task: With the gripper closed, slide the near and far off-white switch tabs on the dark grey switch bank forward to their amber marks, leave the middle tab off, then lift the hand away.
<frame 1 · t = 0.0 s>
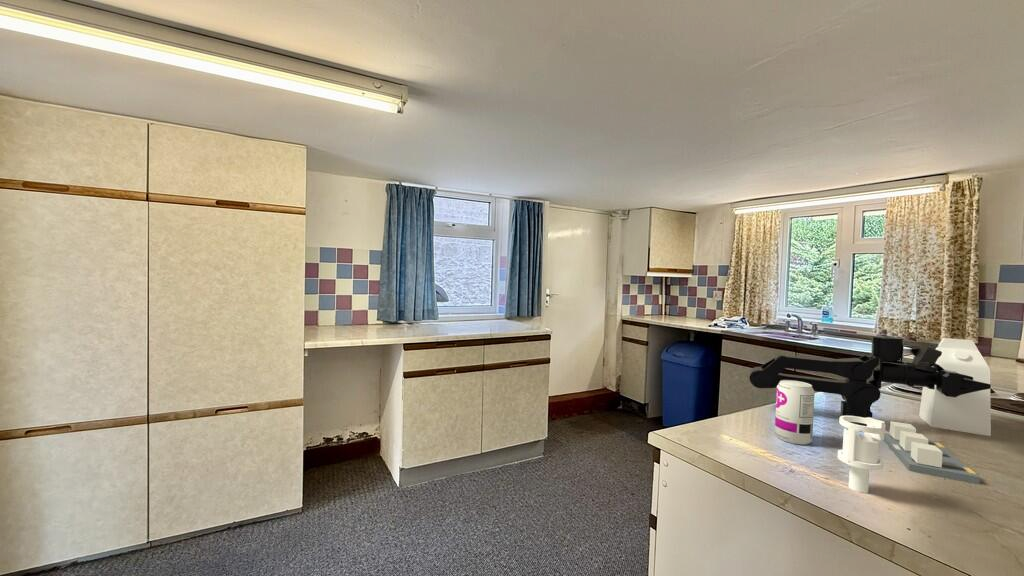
hand: (981, 382, 107), 17 cm above the counter, fingers open, 9 cm apart
white cylindrical holder: (858, 489, 83), on the counter
far tab: (902, 431, 106), point 3 cm above the counter, slide at 0.0 cm
middle tab: (913, 442, 99), point 3 cm above the counter, slide at 0.0 cm
switch bank: (923, 458, 98), on the counter
supplement can: (792, 440, 108), on the counter
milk: (952, 426, 122), on the counter
near tab: (926, 454, 92), point 3 cm above the counter, slide at 0.0 cm
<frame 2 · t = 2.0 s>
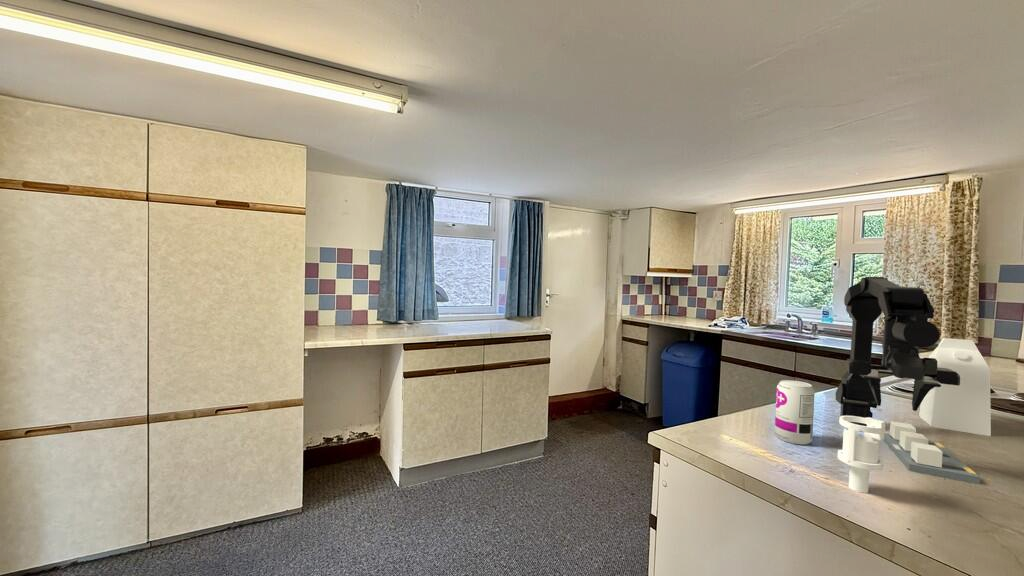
hand: (896, 408, 95), 13 cm above the counter, fingers open, 6 cm apart
nothing on the counter moved.
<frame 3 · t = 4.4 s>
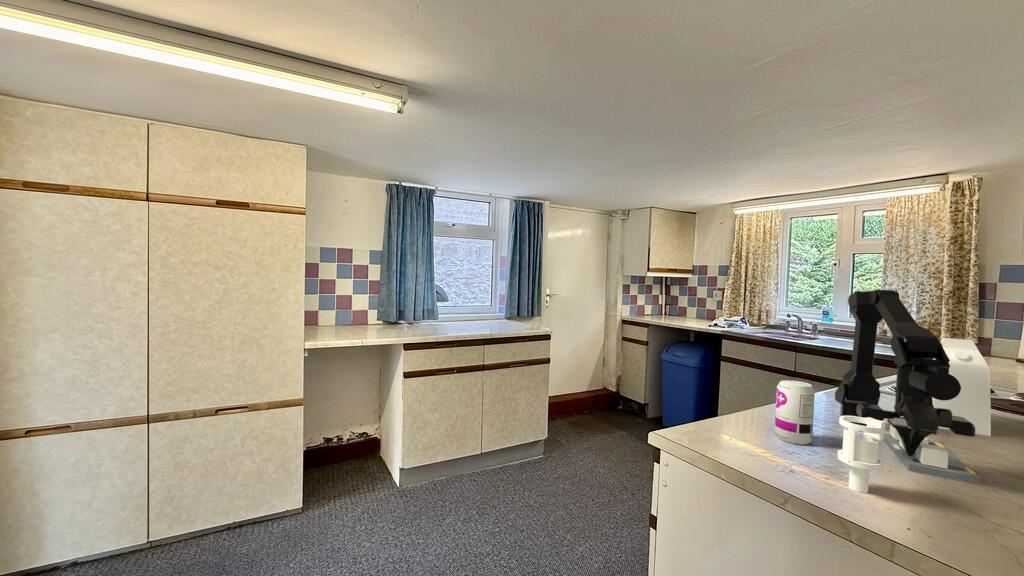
hand: (909, 455, 94), 3 cm above the counter, fingers closed
near tab: (931, 455, 92), point 3 cm above the counter, slide at 0.9 cm, touching gripper
everything else where it was.
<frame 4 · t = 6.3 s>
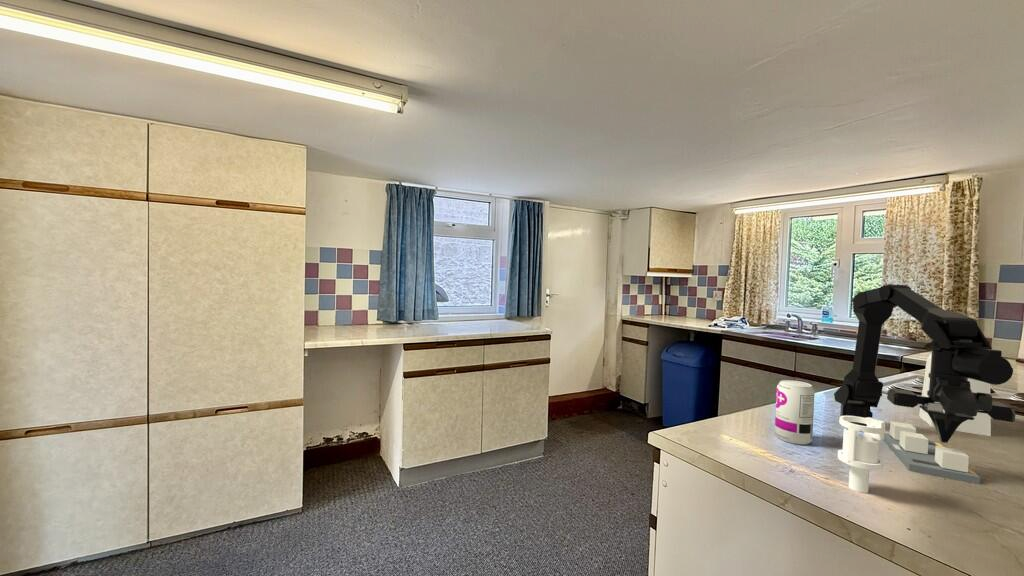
hand: (943, 442, 91), 7 cm above the counter, fingers closed
near tab: (951, 458, 90), point 3 cm above the counter, slide at 4.1 cm
everything else where it was.
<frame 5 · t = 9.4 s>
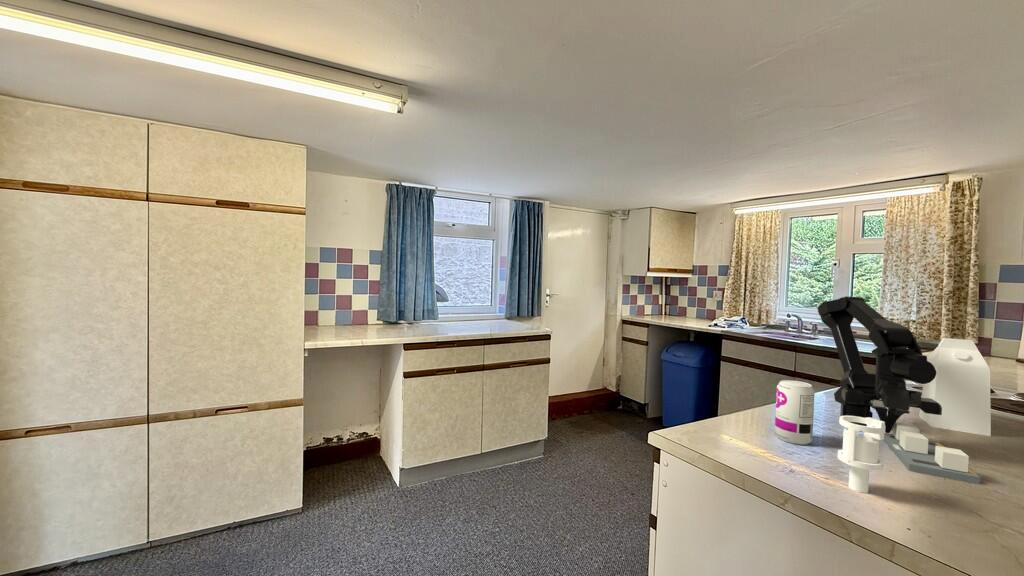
hand: (886, 432, 108), 3 cm above the counter, fingers closed
far tab: (905, 432, 106), point 3 cm above the counter, slide at 0.6 cm, touching gripper
everything else where it was.
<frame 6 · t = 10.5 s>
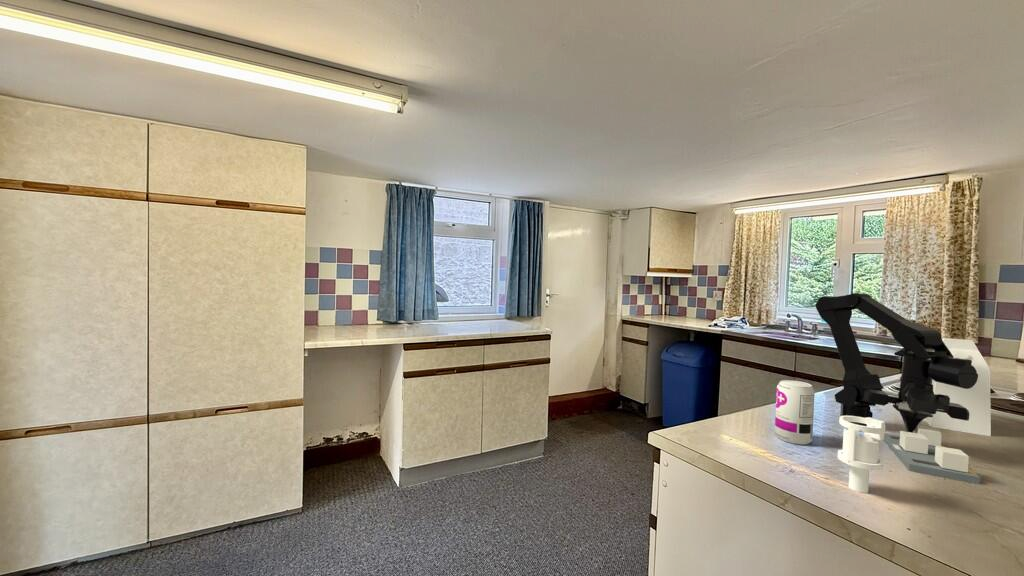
hand: (909, 436, 105), 3 cm above the counter, fingers closed
far tab: (927, 435, 104), point 3 cm above the counter, slide at 4.7 cm, touching gripper
everything else where it was.
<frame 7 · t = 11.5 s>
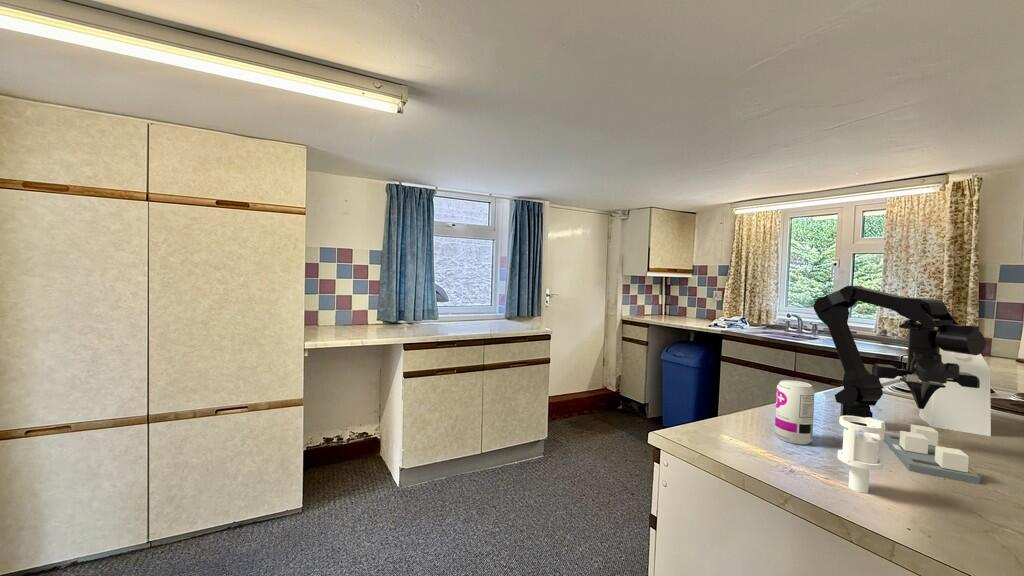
hand: (920, 408, 104), 10 cm above the counter, fingers closed
far tab: (923, 435, 104), point 3 cm above the counter, slide at 4.1 cm
everything else where it was.
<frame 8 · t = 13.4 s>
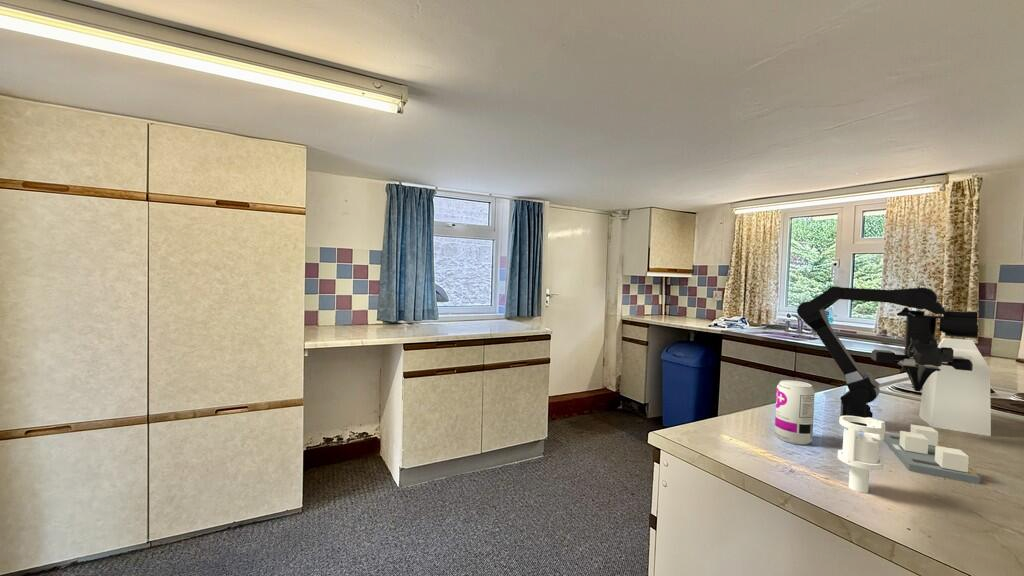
hand: (917, 391, 110), 13 cm above the counter, fingers closed
nothing on the counter moved.
at the end: near tab slide at 4.1 cm; far tab slide at 4.1 cm; middle tab slide at 0.0 cm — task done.
